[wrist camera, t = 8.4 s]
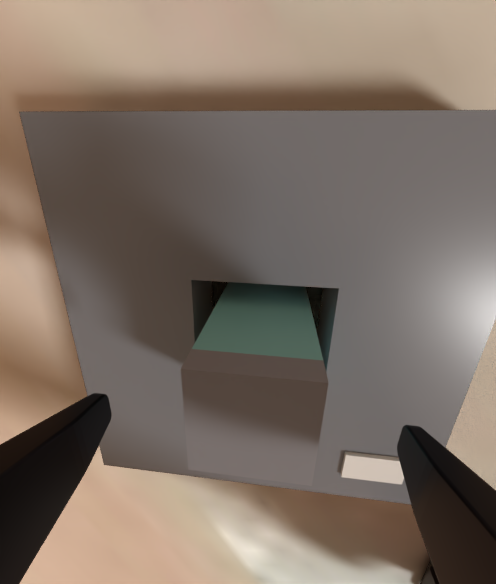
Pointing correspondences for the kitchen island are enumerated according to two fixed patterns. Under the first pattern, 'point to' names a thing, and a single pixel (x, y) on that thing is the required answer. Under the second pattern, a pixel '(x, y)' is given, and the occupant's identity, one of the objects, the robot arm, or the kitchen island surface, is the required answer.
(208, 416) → the block
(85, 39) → the kitchen island surface
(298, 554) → the kitchen island surface
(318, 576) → the kitchen island surface
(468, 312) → the outlet plate
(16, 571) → the robot arm
